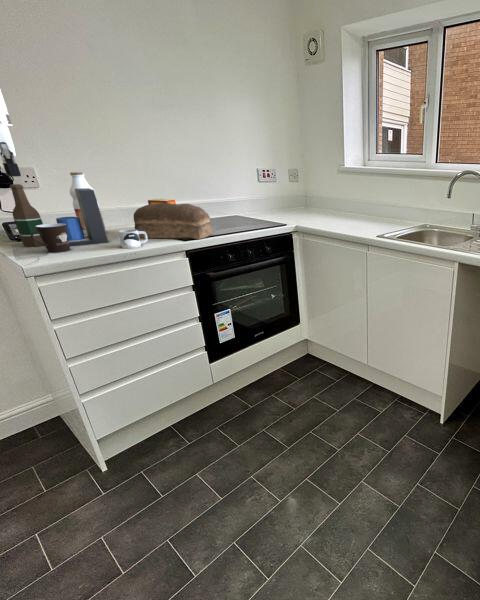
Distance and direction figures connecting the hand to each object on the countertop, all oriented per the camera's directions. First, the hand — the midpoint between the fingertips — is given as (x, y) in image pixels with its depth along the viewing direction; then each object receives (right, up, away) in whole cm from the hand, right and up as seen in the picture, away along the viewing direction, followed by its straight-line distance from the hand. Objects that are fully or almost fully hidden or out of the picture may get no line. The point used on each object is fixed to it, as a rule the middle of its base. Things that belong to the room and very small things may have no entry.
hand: (13, 175), depth 120 cm
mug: (+20, -20, +29) cm, 41 cm away
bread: (+24, -12, +50) cm, 57 cm away
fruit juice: (-16, -11, +50) cm, 53 cm away
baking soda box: (+13, -7, +61) cm, 63 cm away
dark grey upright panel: (-5, -18, +32) cm, 37 cm away
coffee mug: (-2, -24, +16) cm, 29 cm away
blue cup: (-7, -17, +30) cm, 35 cm away
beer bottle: (-18, -20, +25) cm, 37 cm away
